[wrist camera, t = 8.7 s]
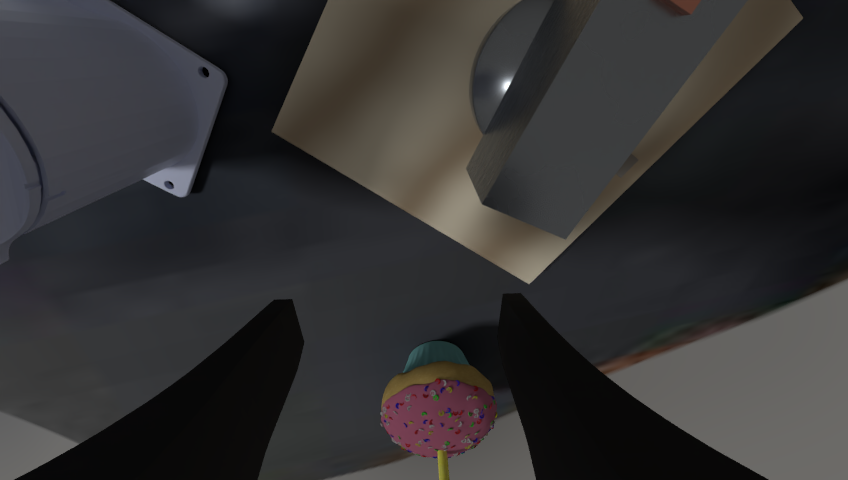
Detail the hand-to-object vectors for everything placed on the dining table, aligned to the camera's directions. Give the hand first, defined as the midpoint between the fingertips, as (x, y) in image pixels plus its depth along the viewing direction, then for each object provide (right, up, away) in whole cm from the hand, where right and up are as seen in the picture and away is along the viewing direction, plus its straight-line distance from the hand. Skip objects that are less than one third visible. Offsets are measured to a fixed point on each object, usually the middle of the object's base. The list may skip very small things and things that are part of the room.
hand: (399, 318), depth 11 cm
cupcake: (+2, -7, +17) cm, 18 cm away
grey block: (+6, +9, +1) cm, 11 cm away
